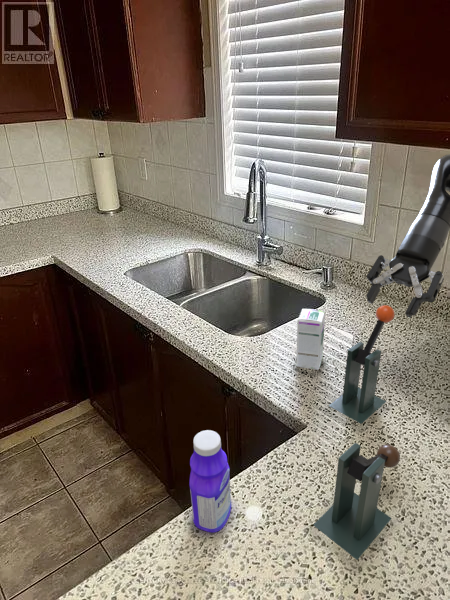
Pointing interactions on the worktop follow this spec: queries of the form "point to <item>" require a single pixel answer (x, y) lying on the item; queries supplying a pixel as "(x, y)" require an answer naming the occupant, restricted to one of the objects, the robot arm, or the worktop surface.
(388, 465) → the rod
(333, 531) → the bracket
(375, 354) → the bracket
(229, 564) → the worktop surface
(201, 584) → the worktop surface
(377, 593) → the worktop surface
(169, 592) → the worktop surface
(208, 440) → the bottle
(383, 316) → the rod
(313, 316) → the syrup box
